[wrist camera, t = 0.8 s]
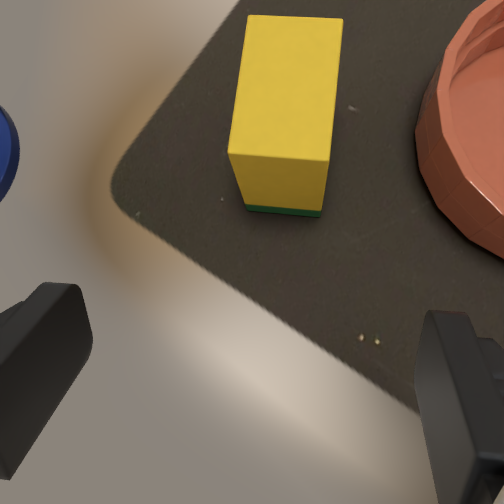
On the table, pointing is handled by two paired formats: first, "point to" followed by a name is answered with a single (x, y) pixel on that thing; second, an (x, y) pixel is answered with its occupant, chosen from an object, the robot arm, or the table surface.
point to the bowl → (468, 129)
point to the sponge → (285, 112)
